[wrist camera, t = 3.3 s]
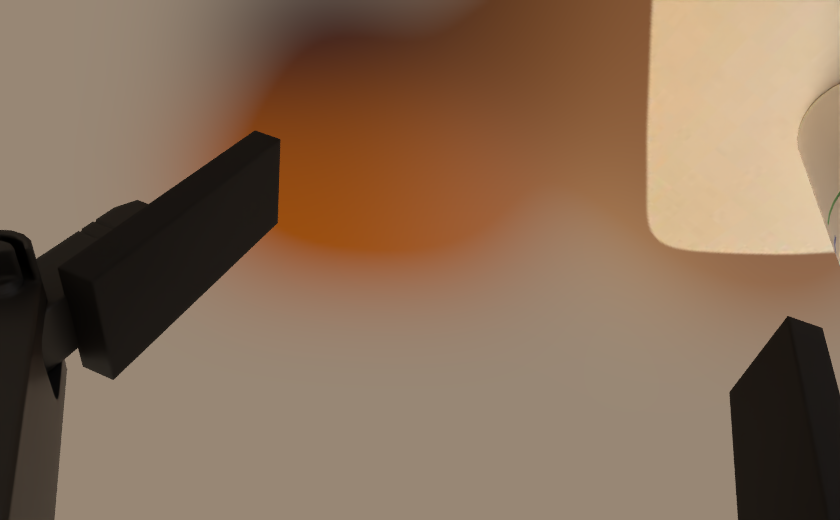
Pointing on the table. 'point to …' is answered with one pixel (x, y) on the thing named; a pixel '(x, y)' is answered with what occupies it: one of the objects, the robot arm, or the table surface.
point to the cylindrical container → (824, 158)
